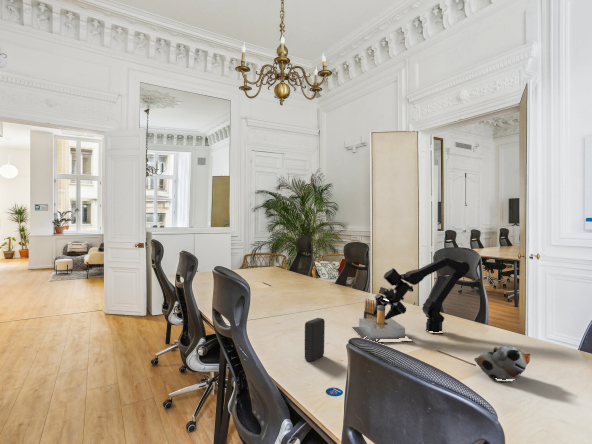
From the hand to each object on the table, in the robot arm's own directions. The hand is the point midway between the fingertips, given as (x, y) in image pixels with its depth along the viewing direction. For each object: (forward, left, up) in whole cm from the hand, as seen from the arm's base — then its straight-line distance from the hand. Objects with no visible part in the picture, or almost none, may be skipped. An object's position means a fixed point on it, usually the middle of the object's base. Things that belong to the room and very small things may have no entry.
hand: (379, 316), depth 162 cm
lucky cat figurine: (-27, +46, -9) cm, 54 cm away
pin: (-1, 0, -8) cm, 8 cm away
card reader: (+36, +24, -9) cm, 44 cm away
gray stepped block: (-1, 0, -9) cm, 9 cm away
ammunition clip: (-4, -20, -9) cm, 22 cm away
